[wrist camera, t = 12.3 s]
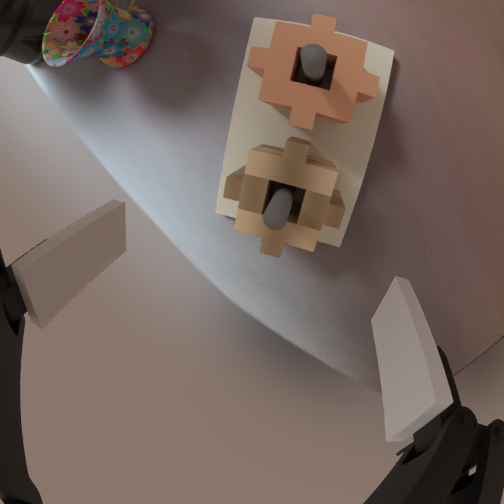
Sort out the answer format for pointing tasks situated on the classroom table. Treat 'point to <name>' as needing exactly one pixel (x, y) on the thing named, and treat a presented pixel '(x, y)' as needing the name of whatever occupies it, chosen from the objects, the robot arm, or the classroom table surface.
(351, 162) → the gear board
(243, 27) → the classroom table surface
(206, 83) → the classroom table surface
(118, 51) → the mug
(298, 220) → the gear
